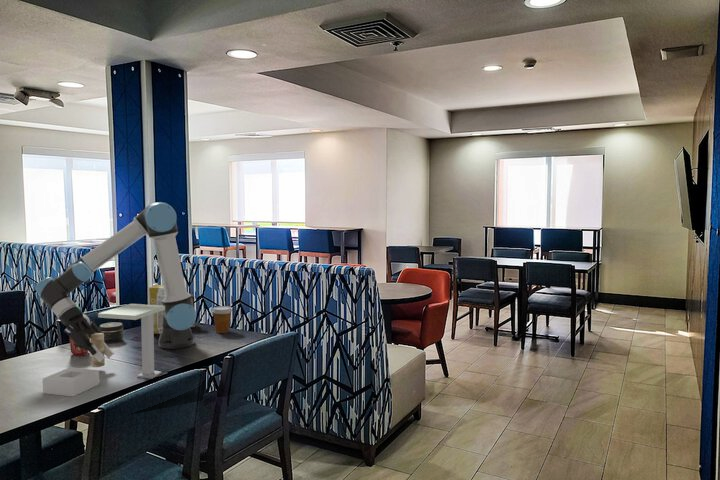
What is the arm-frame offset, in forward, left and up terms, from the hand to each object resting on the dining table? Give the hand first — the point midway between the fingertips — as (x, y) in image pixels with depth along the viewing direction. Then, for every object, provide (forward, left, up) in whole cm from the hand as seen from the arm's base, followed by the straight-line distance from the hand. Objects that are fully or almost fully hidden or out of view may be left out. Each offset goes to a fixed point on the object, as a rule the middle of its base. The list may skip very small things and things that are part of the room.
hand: (106, 357), depth 196 cm
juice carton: (-29, -52, -5) cm, 60 cm away
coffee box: (-43, -57, -6) cm, 71 cm away
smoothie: (+7, -30, -5) cm, 31 cm away
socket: (+13, +13, -5) cm, 19 cm away
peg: (+3, -3, -3) cm, 5 cm away
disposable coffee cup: (-56, -37, -5) cm, 67 cm away
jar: (-7, -46, -6) cm, 47 cm away
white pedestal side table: (-9, +9, -5) cm, 14 cm away
